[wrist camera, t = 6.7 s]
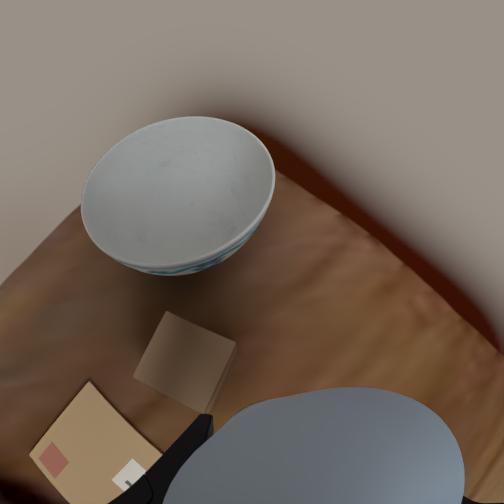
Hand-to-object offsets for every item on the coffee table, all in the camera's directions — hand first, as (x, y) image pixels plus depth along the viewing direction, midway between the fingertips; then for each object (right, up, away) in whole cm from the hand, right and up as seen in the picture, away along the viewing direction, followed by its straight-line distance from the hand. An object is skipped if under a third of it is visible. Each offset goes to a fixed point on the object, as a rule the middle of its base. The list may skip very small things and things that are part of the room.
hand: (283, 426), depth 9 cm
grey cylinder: (0, -4, +5) cm, 7 cm away
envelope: (-12, -13, +7) cm, 19 cm away
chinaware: (-7, +8, +19) cm, 21 cm away
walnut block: (-5, -3, +12) cm, 14 cm away
